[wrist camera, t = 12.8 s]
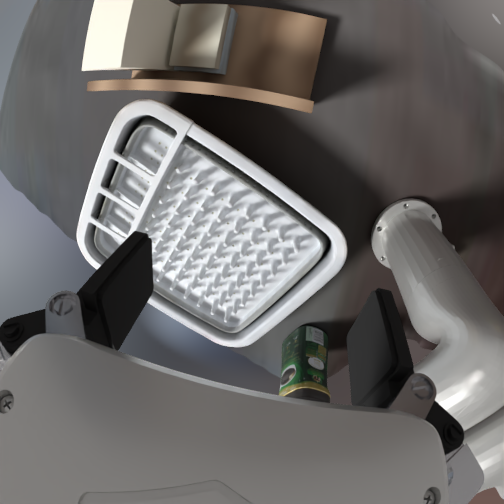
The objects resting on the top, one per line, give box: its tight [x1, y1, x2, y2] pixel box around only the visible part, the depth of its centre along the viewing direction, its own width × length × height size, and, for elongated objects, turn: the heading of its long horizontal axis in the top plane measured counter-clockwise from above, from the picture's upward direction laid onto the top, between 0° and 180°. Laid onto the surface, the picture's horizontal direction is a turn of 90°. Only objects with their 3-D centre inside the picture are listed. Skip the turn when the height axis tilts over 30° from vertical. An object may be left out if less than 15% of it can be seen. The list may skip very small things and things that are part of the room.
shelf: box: [87, 4, 327, 113], centre depth 25 cm, size 25×13×12 cm, turn 81°
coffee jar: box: [279, 326, 330, 403], centre depth 48 cm, size 10×8×19 cm
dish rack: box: [77, 99, 347, 347], centre depth 42 cm, size 32×37×8 cm
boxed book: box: [82, 0, 180, 71], centre depth 23 cm, size 5×9×14 cm, turn 170°
